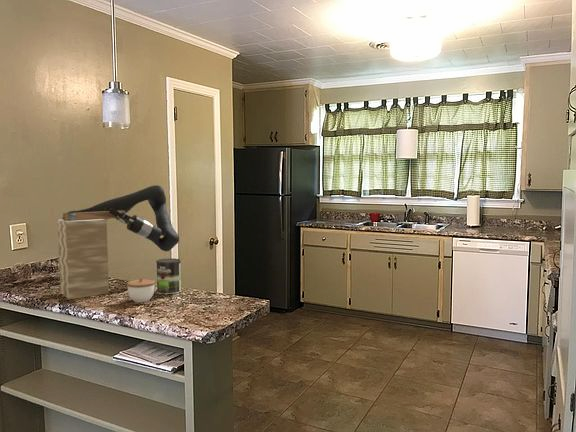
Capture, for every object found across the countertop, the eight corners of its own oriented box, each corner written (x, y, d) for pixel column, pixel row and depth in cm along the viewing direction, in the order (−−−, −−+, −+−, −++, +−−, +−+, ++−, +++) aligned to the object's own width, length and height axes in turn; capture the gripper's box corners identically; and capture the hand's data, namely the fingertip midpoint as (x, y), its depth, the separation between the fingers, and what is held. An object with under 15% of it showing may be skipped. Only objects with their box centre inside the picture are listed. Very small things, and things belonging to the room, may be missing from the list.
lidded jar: (138, 296, 197) (138, 274, 197) (160, 298, 194) (159, 276, 193) (121, 302, 187) (121, 279, 187) (144, 305, 184) (143, 281, 183)
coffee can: (173, 295, 198) (172, 262, 197) (152, 294, 201) (151, 261, 200) (185, 290, 208) (185, 258, 207) (165, 288, 211) (164, 257, 210)
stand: (60, 292, 204) (57, 219, 201) (98, 287, 214) (96, 217, 211) (69, 299, 193) (66, 221, 190) (108, 293, 203) (106, 219, 200)
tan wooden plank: (63, 220, 198) (62, 213, 198) (121, 217, 214) (121, 210, 214) (66, 221, 194) (65, 213, 194) (125, 217, 210) (125, 211, 210)
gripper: (137, 218, 224) (106, 201, 214) (149, 220, 212) (117, 203, 203) (130, 232, 222) (98, 216, 212) (142, 235, 211) (108, 218, 201)
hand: (107, 209), depth 207 cm, fingers open, 6 cm apart
